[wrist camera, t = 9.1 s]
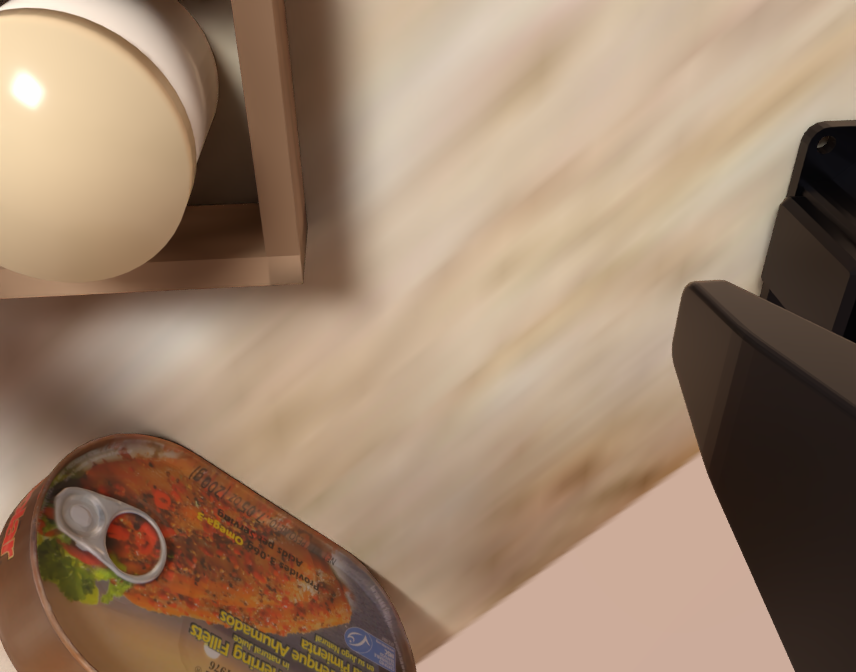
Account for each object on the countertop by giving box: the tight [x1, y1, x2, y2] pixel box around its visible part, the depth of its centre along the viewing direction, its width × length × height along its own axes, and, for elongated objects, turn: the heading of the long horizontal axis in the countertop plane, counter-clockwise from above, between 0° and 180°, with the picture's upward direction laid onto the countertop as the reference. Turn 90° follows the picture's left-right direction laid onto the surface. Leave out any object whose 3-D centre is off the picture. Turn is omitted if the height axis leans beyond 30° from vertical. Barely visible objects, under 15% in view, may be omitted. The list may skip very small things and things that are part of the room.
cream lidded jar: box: [0, 0, 219, 283], centre depth 18 cm, size 5×5×5 cm
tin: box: [0, 434, 416, 672], centre depth 26 cm, size 15×3×8 cm, turn 41°
